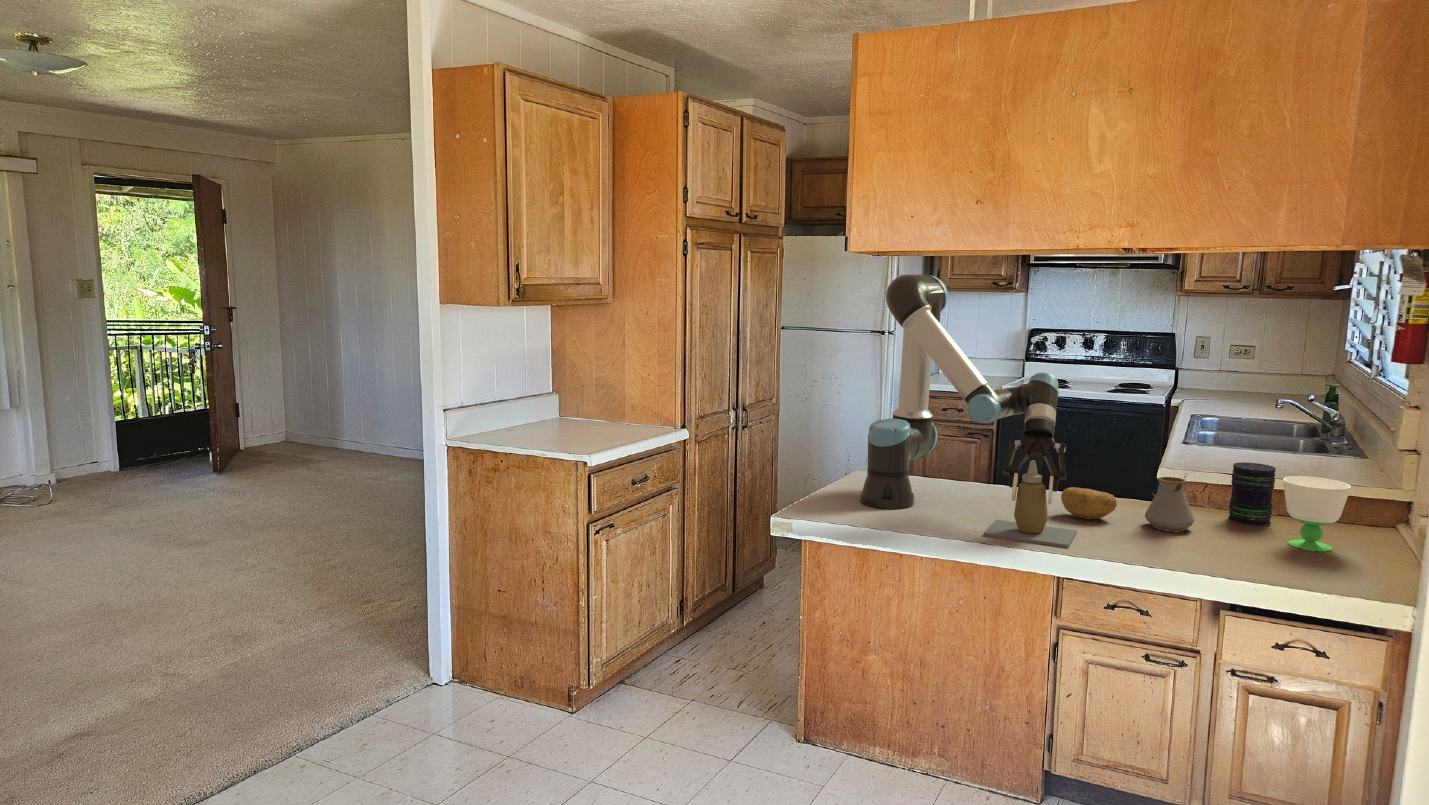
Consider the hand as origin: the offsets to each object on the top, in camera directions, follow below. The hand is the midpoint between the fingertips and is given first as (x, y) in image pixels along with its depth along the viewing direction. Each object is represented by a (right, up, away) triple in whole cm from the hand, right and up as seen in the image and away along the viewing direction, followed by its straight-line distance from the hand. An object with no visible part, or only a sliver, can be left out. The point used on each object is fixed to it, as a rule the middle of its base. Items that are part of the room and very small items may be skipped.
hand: (1031, 499), depth 220 cm
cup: (+66, -11, -4) cm, 67 cm away
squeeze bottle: (+1, -9, +5) cm, 10 cm away
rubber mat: (+1, -9, +4) cm, 10 cm away
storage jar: (+64, -8, +17) cm, 67 cm away
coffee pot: (+38, -9, +6) cm, 39 cm away
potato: (+22, -7, +20) cm, 31 cm away
